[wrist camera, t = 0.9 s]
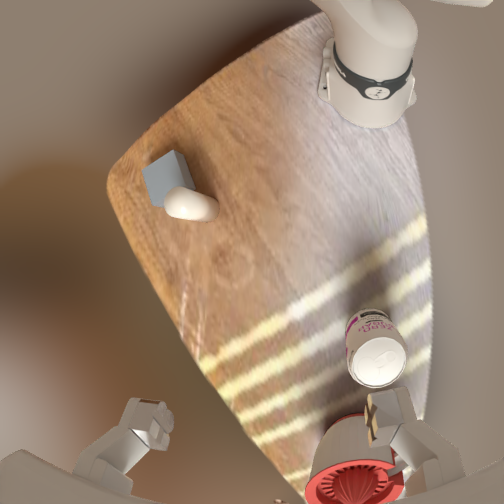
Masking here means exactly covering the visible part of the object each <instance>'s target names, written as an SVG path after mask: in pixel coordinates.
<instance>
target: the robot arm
mask: <svg viewBox="0 0 504 504" xmlns="http://www.w3.org/2000/svg"><path fill="white" fill-rule="evenodd" d="M310 1H311V2H313V3H314V4H316V5H317V6H318V7H319V8H320V9H322V10H323V11H324V12H325V14H326V15H327V16H328V18H329V19H330V22H331V25H332V28H333V33H334V37H332V38H330V39H328V40H327V41H326V47H324V48H323V58H324V59H323V65H322V71H321V76H320V82H319V88H318V96H319V98H320V99H322V100H323V101H325V102H327V103H329V104H331V105H332V106H333V107H334V108H335V109H336V110H337V112H338V113H339V114H340V115H341V116H342V117H344V118H345V119H346V120H348V121H349V122H351V123H353V124H355V125H358V126H361V127H365V128H383V127H387V126H389V125H392V124H393V123H395V122H396V121H397V120H398V119H399V118H400V117H401V116H402V114H403V112H404V111H405V109H406V108H407V107H409V106H411V105H413V104H414V103H415V102H416V98H417V96H416V94H415V91H414V89H413V87H414V82H415V78H414V77H413V76H412V73H411V71H412V62H413V60H412V55H413V51H414V48H415V45H416V41H417V37H418V29H417V25H416V22H415V19H414V18H413V16H412V14H411V13H410V12H409V11H408V10H407V9H406V7H404V5H403V4H401V3H400V2H399V1H398V0H310ZM432 1H437V2H441V3H446V4H457V5H465V6H476V7H484V6H487V5H488V4H490V3H491V2H492V1H493V0H432ZM324 87H326V88H327V89H323V88H324ZM367 400H368V403H367V404H366V405H365V414H364V415H365V423H366V426H367V427H369V431H368V434H367V435H368V441H369V447H370V448H373V447H379V446H384V445H389V444H390V446H391V447H392V448H393V449H394V450H395V451H396V453H397V454H398V455H399V456H400V457H401V458H402V459H403V460H404V461H405V462H406V463H407V464H408V465H409V466H410V467H411V468H412V469H413V470H414V471H415V472H414V474H413V475H412V476H411V477H410V478H409V479H408V480H407V481H406V482H405V489H406V496H407V497H406V498H402V499H399V500H395V501H391V502H387V503H382V504H504V457H503V458H502V459H500V460H498V461H496V462H494V463H492V464H490V465H489V466H486V467H484V468H482V469H480V470H478V471H476V472H474V473H472V474H470V475H467V476H466V475H465V472H464V468H463V464H462V460H461V457H460V453H459V450H458V449H457V448H456V447H455V446H454V445H452V444H451V443H450V442H449V441H447V440H446V439H445V438H443V437H442V436H441V435H440V434H438V433H437V432H436V431H435V430H433V429H432V428H431V427H429V426H428V425H427V424H426V423H424V422H423V421H422V420H421V419H420V420H417V418H416V414H415V411H414V408H413V405H412V401H411V398H410V395H409V392H408V389H407V388H406V387H405V386H404V387H399V388H395V389H389V390H385V391H380V392H375V393H370V394H368V397H367ZM166 406H167V405H166V404H165V403H164V402H163V401H154V400H145V399H139V398H131V399H130V400H129V401H128V404H127V406H126V408H125V410H124V413H123V415H122V418H121V420H120V422H119V425H118V427H117V426H115V427H113V428H112V429H111V430H109V431H108V432H107V433H105V434H104V435H103V436H102V437H100V438H99V439H98V440H96V441H95V442H94V443H92V444H91V445H90V446H88V447H87V448H85V449H84V450H83V451H81V454H80V456H79V458H78V460H77V463H76V465H75V468H74V470H73V472H72V473H70V472H67V471H65V470H63V469H61V468H59V467H57V466H55V465H53V464H51V463H49V462H47V461H45V460H43V459H41V458H39V457H37V456H35V455H34V454H32V453H30V452H28V451H26V450H23V449H21V450H18V451H16V452H14V453H13V454H11V455H9V456H7V457H5V458H4V459H3V460H1V461H0V504H163V503H158V502H154V501H150V500H146V499H143V498H139V497H135V496H132V495H130V492H131V489H132V486H133V481H132V480H131V479H130V478H128V477H127V476H125V473H126V472H128V471H129V470H130V469H131V468H132V466H134V464H136V463H137V462H138V461H139V460H140V459H141V458H142V457H143V456H144V455H145V454H146V453H147V452H148V451H149V450H150V449H157V450H163V451H167V447H168V444H169V440H170V438H169V435H168V434H169V433H170V432H171V431H172V430H173V426H174V417H173V414H172V413H171V411H169V410H168V409H166ZM149 448H150V449H149Z"/></svg>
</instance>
